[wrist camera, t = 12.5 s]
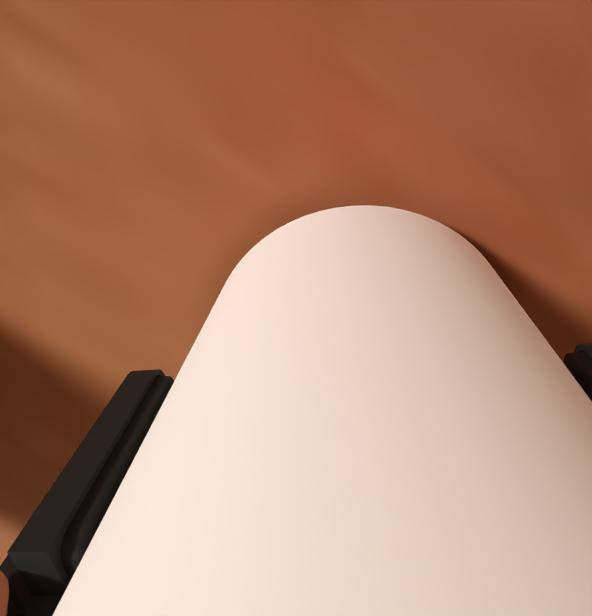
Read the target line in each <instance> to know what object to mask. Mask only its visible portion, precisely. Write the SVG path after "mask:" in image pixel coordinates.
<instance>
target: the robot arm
mask: <svg viewBox="0 0 592 616" xmlns="http://www.w3.org/2000/svg"><path fill="white" fill-rule="evenodd" d="M564 365H565V366H566V367H567V369H568V370H569V372H570V373H571V374H572V376H573V377H574V378H575V380H576V381H577V382H578V384H579V385H580V386H581V388H582V389H583V390H584V392H585V393H586V394H587V396H588V397H589V399H590V400H591V401H592V344H580V345H578V346H577V347H576V349H575V351H574V353H568V354H566V356H565V358H564ZM173 383H174V380H173V379H172V377H170V376H165V374H164V373H163V372H162V371H161V370H143V371H132V372H130V373H129V374H128V375H127V377H126V378H125V380H124V381H123V383H122V384H121V385H120V387H119V388H118V390H117V391H116V393H115V394H114V396H113V397H112V399H111V400H110V402H109V403H108V405H107V406H106V408H105V409H104V410H103V412H102V413H101V415H100V416H99V418H98V419H97V421H96V422H95V424H94V425H93V427H92V428H91V430H90V431H89V433H88V434H87V436H86V437H85V438H84V440H83V441H82V443H81V444H80V446H79V447H78V449H77V450H76V452H75V453H74V455H73V456H72V458H71V459H70V461H69V462H68V463H67V465H66V466H65V468H64V469H63V471H62V472H61V474H60V475H59V477H58V478H57V480H56V481H55V483H54V484H53V486H52V487H51V488H50V490H49V491H48V493H47V494H46V496H45V497H44V499H43V500H42V502H41V503H40V505H39V506H38V508H37V509H36V511H35V512H34V513H33V515H32V516H31V518H30V519H29V521H28V522H27V524H26V525H25V527H24V528H23V530H22V531H21V533H20V534H19V536H18V537H17V538H16V540H15V541H14V543H13V544H12V546H11V547H10V549H9V550H8V552H7V553H8V556H7V557H6V559H5V560H4V562H3V563H2V564H1V566H0V616H52V615H53V614H54V612H55V610H56V608H57V606H58V604H59V602H60V600H61V598H62V596H63V594H64V592H65V590H66V589H67V587H68V585H69V583H70V581H71V579H72V577H73V575H74V573H75V571H76V569H77V567H78V566H79V564H80V562H81V560H82V558H83V556H84V554H85V552H86V550H87V548H88V546H89V544H90V542H91V541H92V539H93V537H94V535H95V533H96V531H97V529H98V527H99V525H100V523H101V521H102V519H103V517H104V516H105V514H106V512H107V510H108V508H109V506H110V504H111V502H112V500H113V498H114V496H115V494H116V493H117V491H118V489H119V487H120V485H121V483H122V481H123V479H124V477H125V475H126V473H127V471H128V469H129V468H130V466H131V464H132V462H133V460H134V458H135V456H136V454H137V452H138V450H139V448H140V446H141V445H142V443H143V441H144V439H145V437H146V435H147V433H148V431H149V429H150V427H151V425H152V423H153V421H154V420H155V418H156V416H157V414H158V412H159V410H160V408H161V406H162V404H163V402H164V400H165V398H166V396H167V395H168V393H169V391H170V389H171V387H172V385H173Z"/></svg>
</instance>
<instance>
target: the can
mask: <svg viewBox="0 0 592 616" xmlns="http://www.w3.org/2000/svg"><path fill="white" fill-rule="evenodd" d="M52 616H592V401H591V400H590V399H589V397H588V396H587V394H586V393H585V392H584V390H583V389H582V388H581V386H580V385H579V384H578V382H577V381H576V380H575V378H574V377H573V376H572V374H571V373H570V372H569V370H568V369H567V367H566V366H565V365H564V363H563V362H562V361H561V359H560V358H559V357H558V355H557V354H556V353H555V351H554V350H553V349H552V347H551V346H550V345H549V343H548V342H547V340H546V339H545V338H544V336H543V335H542V334H541V332H540V331H539V330H538V328H537V327H536V326H535V324H534V323H533V322H532V320H531V319H530V318H529V316H528V315H527V314H526V312H525V311H524V309H523V308H522V307H521V305H520V304H519V303H518V301H517V300H516V299H515V297H514V296H513V295H512V293H511V292H510V291H509V289H508V288H507V287H506V285H505V284H504V282H503V281H502V280H501V278H500V277H499V276H498V274H497V273H496V272H495V270H494V269H493V268H492V266H491V265H490V264H489V262H488V261H487V260H486V258H485V257H484V256H483V255H482V254H481V253H480V252H479V251H478V250H477V249H476V248H475V247H474V246H473V245H472V244H471V243H469V242H468V241H467V240H466V239H465V238H463V237H462V236H461V235H459V234H458V233H456V232H455V231H453V230H452V229H450V228H449V227H447V226H445V225H443V224H441V223H439V222H437V221H435V220H433V219H430V218H428V217H425V216H423V215H420V214H417V213H413V212H410V211H406V210H402V209H396V208H391V207H383V206H370V205H367V206H346V207H338V208H332V209H328V210H323V211H319V212H316V213H313V214H309V215H306V216H303V217H301V218H299V219H296V220H294V221H292V222H289V223H288V224H286V225H284V226H282V227H280V228H278V229H277V230H275V231H274V232H272V233H271V234H269V235H268V236H266V237H265V238H263V239H262V240H261V241H260V242H259V243H258V244H256V245H255V246H254V247H253V248H252V249H251V250H250V251H249V252H248V253H247V254H246V255H245V256H244V257H243V258H242V259H241V261H240V262H239V263H238V265H237V266H236V267H235V268H234V270H233V271H232V273H231V275H230V276H229V278H228V280H227V281H226V283H225V285H224V287H223V289H222V291H221V293H220V295H219V297H218V299H217V300H216V302H215V304H214V306H213V308H212V310H211V312H210V314H209V316H208V318H207V320H206V322H205V323H204V325H203V327H202V329H201V331H200V333H199V335H198V337H197V339H196V341H195V343H194V345H193V347H192V348H191V350H190V352H189V354H188V356H187V358H186V360H185V362H184V364H183V366H182V368H181V370H180V372H179V373H178V375H177V377H176V379H175V381H174V383H173V385H172V387H171V389H170V391H169V393H168V395H167V396H166V398H165V400H164V402H163V404H162V406H161V408H160V410H159V412H158V414H157V416H156V418H155V420H154V421H153V423H152V425H151V427H150V429H149V431H148V433H147V435H146V437H145V439H144V441H143V443H142V445H141V446H140V448H139V450H138V452H137V454H136V456H135V458H134V460H133V462H132V464H131V466H130V468H129V469H128V471H127V473H126V475H125V477H124V479H123V481H122V483H121V485H120V487H119V489H118V491H117V493H116V494H115V496H114V498H113V500H112V502H111V504H110V506H109V508H108V510H107V512H106V514H105V516H104V517H103V519H102V521H101V523H100V525H99V527H98V529H97V531H96V533H95V535H94V537H93V539H92V541H91V542H90V544H89V546H88V548H87V550H86V552H85V554H84V556H83V558H82V560H81V562H80V564H79V566H78V567H77V569H76V571H75V573H74V575H73V577H72V579H71V581H70V583H69V585H68V587H67V589H66V590H65V592H64V594H63V596H62V598H61V600H60V602H59V604H58V606H57V608H56V610H55V612H54V614H53V615H52Z"/></svg>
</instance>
